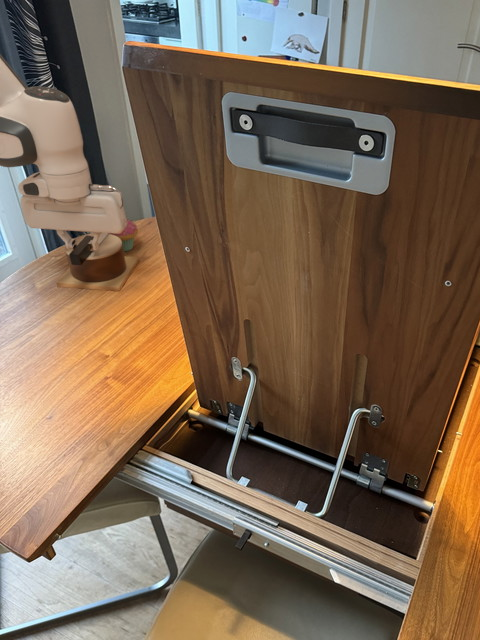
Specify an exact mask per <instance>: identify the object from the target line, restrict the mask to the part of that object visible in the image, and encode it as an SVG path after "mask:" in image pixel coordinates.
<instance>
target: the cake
mask: <svg viewBox="0 0 480 640" xmlns="http://www.w3.org/2000/svg"><path fill="white" fill-rule="evenodd" d="M86 235H89V236H91V233H86V234H82V235H80V236H77V237H74V238H73V239H75V240H76V242H75V243H76V245H78V244H79V243H80V242H81V241H82V239H83V238H84V237H85V236H86ZM72 251H73V249H67V248H66V245H64V252H65V255H66V258H67V262H68V268H67V269H66V271H65V272H64V273H63V274H62V275H61V276H60V278H58V279H57V281H56V282H55V284H56V287H58V288H70V289H71V288H72V289H83V290H84V289H86V290H98V291H110V292H111V291H112V292H120V291H121V290H122V288H123V287H124V285H125V284H126V283H127V281H128V279H129V277H130V276H131V275H132V274H133V271H134V270H135V269H136V267H137V266H138V264H139V262H140V257H138V256H127V255H125V252H124V251H123V246H122V241H121V239H120V238H118V237H117V236H115V235H111V234H108V236H107V237H106V238H105V239H104V240H103V242H102V243H101V244H100V245H99V249H98V250H97V251H93V252H92V253H91V254H90V255H89V257H88V258H87V259H86V260H85V261H84V263H83V264H82V265H72V264H71V260H70V256H69V254H70V253H71V252H72Z"/></svg>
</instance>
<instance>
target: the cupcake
mask: <svg viewBox="0 0 480 640" xmlns="http://www.w3.org/2000/svg"><path fill="white" fill-rule="evenodd" d="M138 233H139V229H138V225H137V224H136V223H135V222H134V221H132V220H131V219H127V227H126V228H125V229H124V231H123V232H122V233H120V234H113V233H109V234H111V235H115V236H117V237H118V238H120V239H121V241H122V246H123V251H124V253H126V252H128V251H131V250H132V249H133V248H134V241H135V238H136V236H138Z"/></svg>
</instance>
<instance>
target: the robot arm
mask: <svg viewBox="0 0 480 640" xmlns="http://www.w3.org/2000/svg"><path fill="white" fill-rule="evenodd" d="M28 165H36V166H37V168H38V172H34V173H32V174H31V175H29V176H28V177H26V178H24V179H23V180H21V182H20V183H19V184H18V185H17V189H18V192H19V193H20V194H21V195H22V196H21V197H20V208H21V212H22V216H23V219H24V222H25V224H26V225H27V226H28V227H29V228H31V229H39V230H55V231H56V235H58V237H59V238H60V239H61V240H62V242H64V244H65V246H66V248H67V249H74V248H75V247H76V246H77V245H76V243H75V242H76V240H75V239H74V238H72V237H71V236H70V234H69V233H68V232H69V231H71V232H85V233H89V234H91V236H94V238H93V240H91V241H90V242H89V243H88V246H89V250H90V251H97V250H98V249H99V244H98V240H99V237H100V235H101V233H113V234H120V233H122V232H123V231H124V229H125V228H126V227H127V220H128V218H127V215H126V211H125V210H126V209H125V207H124V200H123V199H124V198H123V195H122V192H121V191H120V190H119V189H118V188H116V187H114V186H113V185H109V184H106V185H104V184H103V185H102V184H97V183H96V184H95V183H93V182H92V178H91V177H92V176H91V173H90V168H89V163H88V161H87V159H86V157H85V153H84V140H83V134H82V131H81V125H80V121H79V118H78V115H77V112H76V109H75V107H74V104H73V101H71V99H70V97H69V96H68V95H67V94H66V93H65V92H62V91H61V90H59V89H56V88H53V87H49V86H28V85H27V84H26V83H25V82H24V81H23V79H21V77H20V76H19V75H18V73H16V71H15V70H14V69H13V68H12V66H11V65H10V64H9V63H8V62H7V60H6V59H5V58H4V57H3V55H2V54H1V53H0V167H3V168H17V167H18V168H19V167H24V166H28Z"/></svg>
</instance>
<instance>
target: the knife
mask: <svg viewBox="0 0 480 640" xmlns="http://www.w3.org/2000/svg"><path fill="white" fill-rule="evenodd" d="M108 234H109V233H101V235H100V237H99V240H98V244H99V245H100V244H101V243H102V242H103V240H104V239H105V238H106V237H107V236H108ZM85 235H86V236H85V237H84V238H83V239H82V241H81V242H80V243H79V244H78V245H77V246H76V247H75V248H74V249H73V251H72V252H71V253H70V254H69V256H70V260H71V264H72V265H82V264H83V263H84V261H85V260H86V259H87V258H88V257H89V255H90V254H91V253H92V252H93V251H90V250H89V246H88V243H89V242H90V241H91V240H93V238H94V236H89V235H87V234H85Z"/></svg>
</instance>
